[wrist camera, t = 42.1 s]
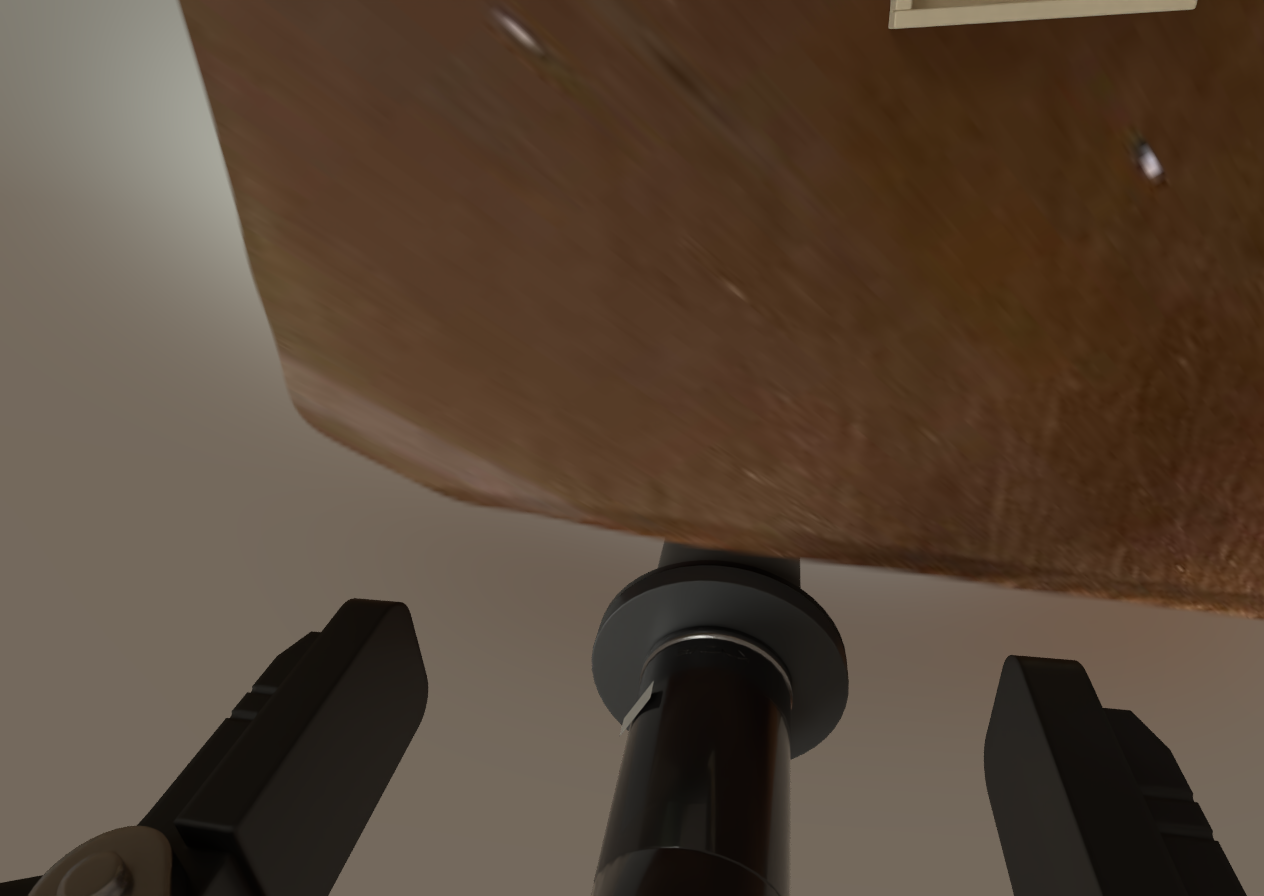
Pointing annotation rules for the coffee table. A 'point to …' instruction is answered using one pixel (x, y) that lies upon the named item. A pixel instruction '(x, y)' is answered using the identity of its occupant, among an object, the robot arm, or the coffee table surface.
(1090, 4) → the tray
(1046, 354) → the coffee table surface
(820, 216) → the coffee table surface
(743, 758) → the robot arm
